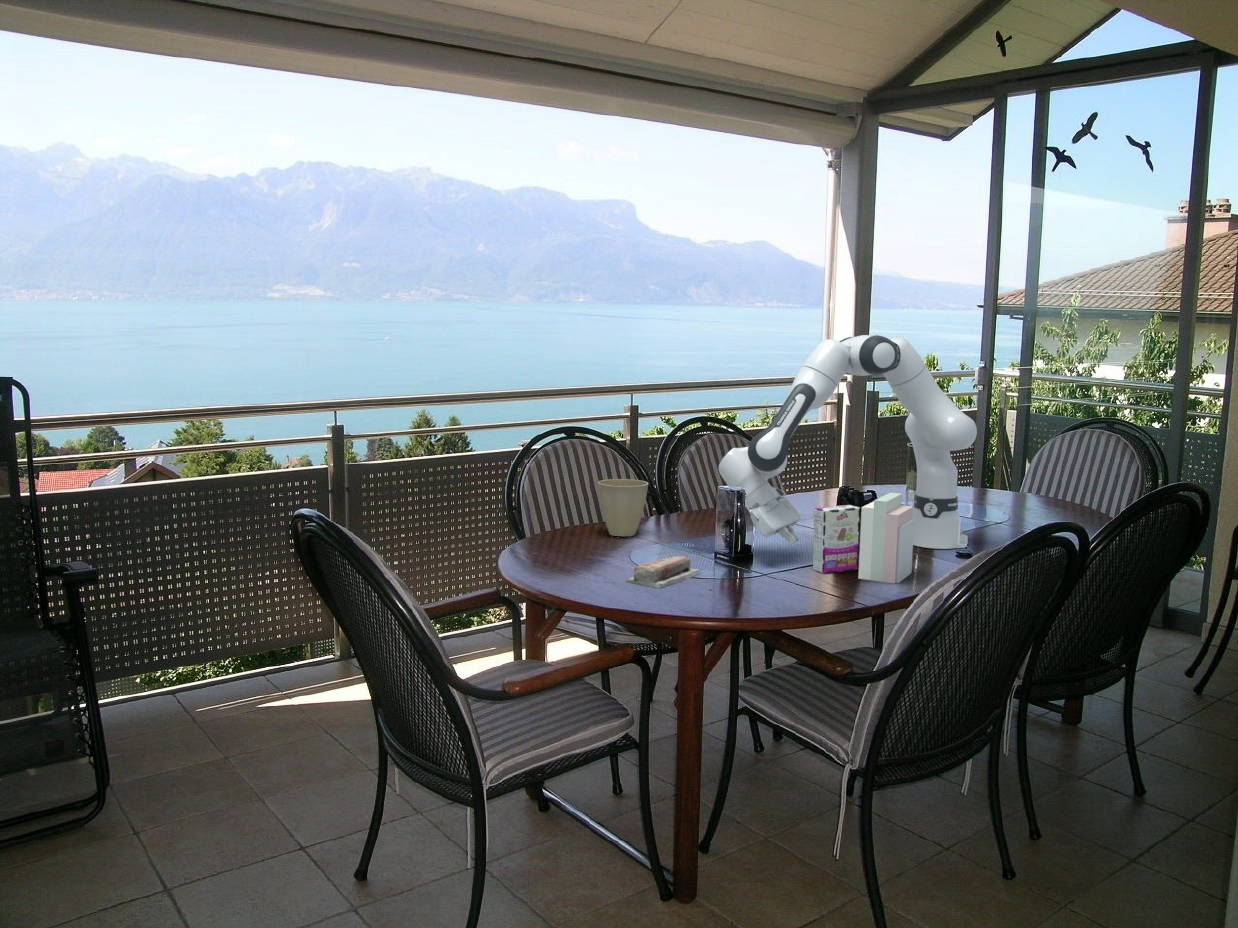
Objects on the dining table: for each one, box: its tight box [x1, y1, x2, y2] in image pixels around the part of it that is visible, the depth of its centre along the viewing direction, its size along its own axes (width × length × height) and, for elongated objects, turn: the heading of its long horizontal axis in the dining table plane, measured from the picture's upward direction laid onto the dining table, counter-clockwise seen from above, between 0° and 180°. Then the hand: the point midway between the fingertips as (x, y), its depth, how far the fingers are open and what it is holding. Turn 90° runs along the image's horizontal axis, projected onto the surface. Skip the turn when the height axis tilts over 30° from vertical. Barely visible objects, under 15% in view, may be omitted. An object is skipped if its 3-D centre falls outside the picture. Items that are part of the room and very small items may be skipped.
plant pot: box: [597, 478, 649, 537], centre depth 287 cm, size 15×15×16 cm
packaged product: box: [626, 555, 701, 589], centre depth 238 cm, size 18×5×10 cm
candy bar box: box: [812, 504, 861, 575], centre depth 247 cm, size 11×5×16 cm, turn 114°
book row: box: [857, 492, 914, 585], centre depth 242 cm, size 14×10×20 cm
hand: (795, 542), depth 255 cm, fingers closed
